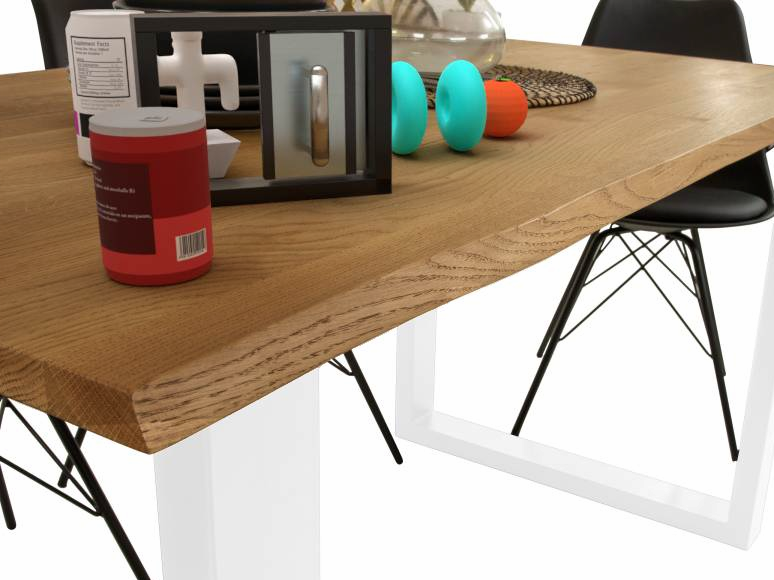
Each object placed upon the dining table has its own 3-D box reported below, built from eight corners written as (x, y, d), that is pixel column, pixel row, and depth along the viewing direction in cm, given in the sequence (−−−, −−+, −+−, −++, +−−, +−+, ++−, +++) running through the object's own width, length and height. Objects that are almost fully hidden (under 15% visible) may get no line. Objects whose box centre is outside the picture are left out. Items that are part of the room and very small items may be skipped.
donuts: (375, 145, 115) (375, 56, 112) (457, 141, 119) (459, 54, 115) (401, 163, 107) (402, 67, 103) (489, 158, 110) (492, 65, 106)
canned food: (218, 251, 77) (209, 106, 73) (209, 286, 69) (199, 126, 65) (114, 253, 76) (100, 106, 72) (93, 289, 68) (76, 127, 64)
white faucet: (253, 177, 99) (246, 20, 94) (157, 187, 95) (144, 22, 90) (229, 163, 105) (221, 14, 100) (138, 171, 101) (125, 16, 96)
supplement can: (66, 159, 105) (50, 10, 100) (140, 149, 110) (128, 8, 105) (100, 173, 100) (85, 16, 94) (176, 162, 105) (165, 13, 100)
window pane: (274, 191, 87) (268, 38, 82) (262, 178, 91) (256, 32, 87) (370, 184, 90) (369, 36, 85) (354, 172, 94) (352, 31, 90)
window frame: (150, 211, 87) (133, 17, 81) (145, 200, 90) (129, 13, 85) (391, 193, 95) (392, 14, 89) (378, 183, 98) (378, 11, 93)
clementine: (487, 127, 127) (489, 70, 125) (538, 133, 124) (541, 75, 122) (460, 138, 120) (461, 78, 118) (513, 144, 118) (516, 82, 115)
